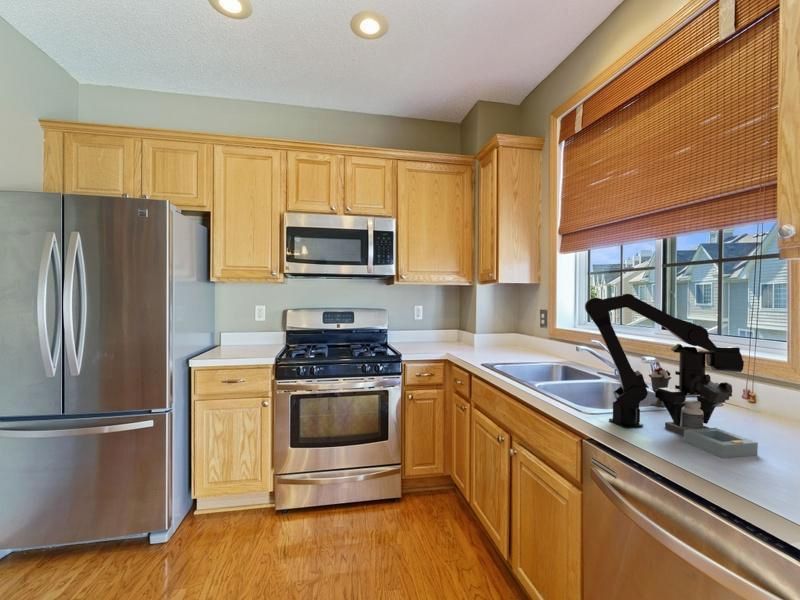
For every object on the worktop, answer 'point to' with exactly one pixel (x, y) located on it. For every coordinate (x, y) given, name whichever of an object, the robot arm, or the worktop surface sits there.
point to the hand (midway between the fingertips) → (691, 424)
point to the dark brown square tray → (676, 427)
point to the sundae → (659, 382)
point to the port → (721, 442)
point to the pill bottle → (691, 415)
